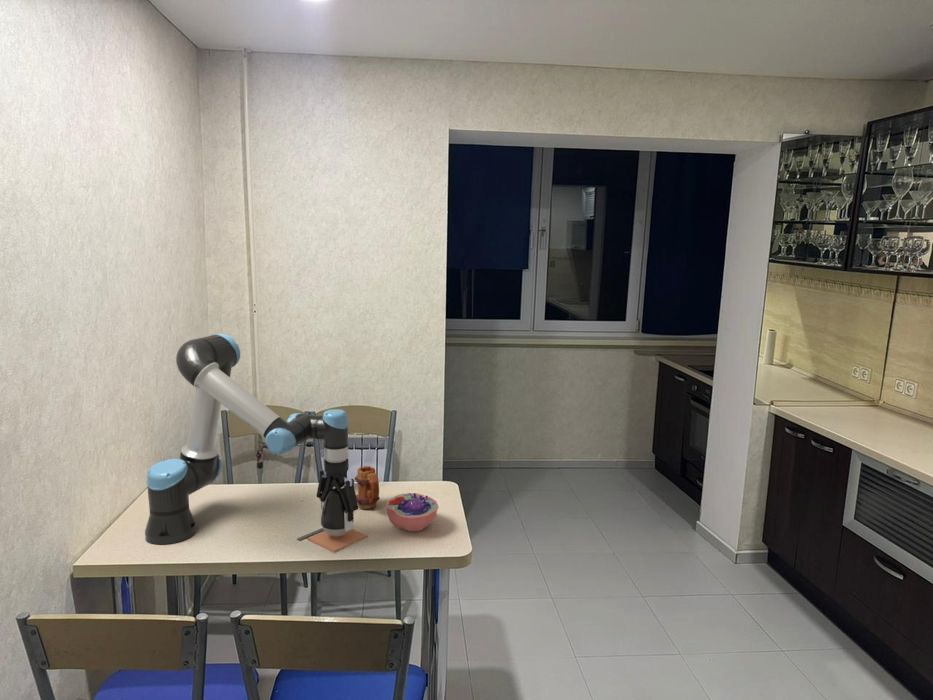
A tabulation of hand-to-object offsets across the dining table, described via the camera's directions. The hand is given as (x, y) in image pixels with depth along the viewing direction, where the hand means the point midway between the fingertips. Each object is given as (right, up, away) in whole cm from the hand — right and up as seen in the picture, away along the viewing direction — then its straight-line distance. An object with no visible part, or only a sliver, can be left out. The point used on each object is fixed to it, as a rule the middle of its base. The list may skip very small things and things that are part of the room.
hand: (337, 524), depth 210 cm
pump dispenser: (0, -3, 0) cm, 3 cm away
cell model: (+23, -4, +10) cm, 25 cm away
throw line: (-7, -4, +6) cm, 10 cm away
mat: (0, -5, +1) cm, 5 cm away
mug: (+7, -1, +23) cm, 24 cm away
